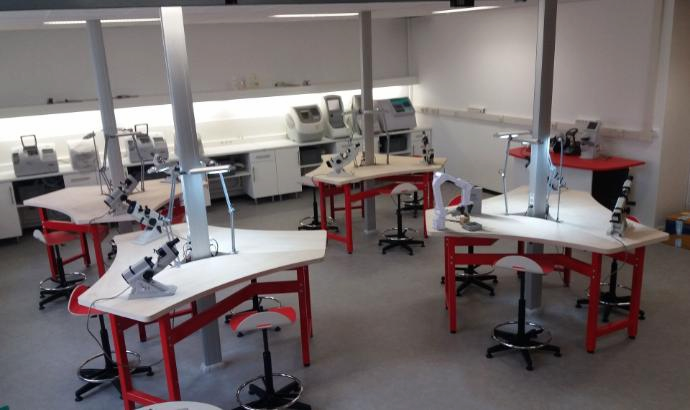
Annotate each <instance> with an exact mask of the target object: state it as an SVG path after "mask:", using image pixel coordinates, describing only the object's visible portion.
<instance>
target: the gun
mask: <svg viewBox="0 0 690 410" xmlns="http://www.w3.org/2000/svg"><path fill="white" fill-rule="evenodd" d="M445 210H446V211H447V216H448V215H451V217H452V218H454V217H455V219H456V220H460V217H462V215H461V212H460V209H459V207H458V206H457V207H453V208H450V209H448V208H445ZM463 217H467V218H469V222H471V221H470V220H471V216H470V214H468V213H467V212H466V211H465V210H464V215H463Z"/></svg>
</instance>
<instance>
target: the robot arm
mask: <svg viewBox="0 0 690 410" xmlns="http://www.w3.org/2000/svg"><path fill="white" fill-rule="evenodd" d="M446 181H450V182H453V183H454V185H456V186H457V187H458V188H461V190H462V189H463V202H462V203H461V202H460V203H459V204H458V205H457V207H459V209H460V212H461V215H460V216H464V209H465V207H463V206H466V205H467V208H468V213H469V215H471V214H470V213H471V210H472V208H473V206H474V205H472V204H473V202H472V201H471V202H470V192H471V189H472V186H471V185H472V184H471V183H469V182H467V181H466V180H463V178H461V177H460V178H455V177H454V176H452V175H450V174H448V173H444V172H441V171H436V172H435V173H434V175H433V180H432V183H431V185H432V190H433V197H434V201H435V202H434V203H435V206H434V214H435V217H433V218H432V226H431V228H433V229H434V230H436V231H439V230H446V229H448V226H447V227H446V217H447V216H448V215H447V211H446V208H445V205H444V202H443V197H442V192H441V185H442V184H443V183H444V182H446Z"/></svg>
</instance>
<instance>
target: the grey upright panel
mask: <svg viewBox="0 0 690 410" xmlns="http://www.w3.org/2000/svg"><path fill="white" fill-rule="evenodd" d="M471 186H472V189H471V192H470V202H471V201H472V202H473V204H472V205H474V206H473V208H472V210H471V213H470V214H469V213H468V208H467V205H466V206H463V207H465V209H464V210H465V211H466V212H467V213H468V214H469V215H482V209H483V208H482V205H483V204H482V203H483V186H482V187H480V186H478V187H476V186H475V184H471ZM460 191H461V192H460V193H461V195H460V196H461V197H460V204H461V203H462V202H463V189H462V188H461V190H460Z"/></svg>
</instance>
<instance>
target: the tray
mask: <svg viewBox="0 0 690 410" xmlns="http://www.w3.org/2000/svg"><path fill="white" fill-rule="evenodd" d="M461 228H462V229H464V230H465V231H468V232H472V231H479V229H480V230H483V224H481V223H479V222H476V221H469V223H462V225H461Z"/></svg>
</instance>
